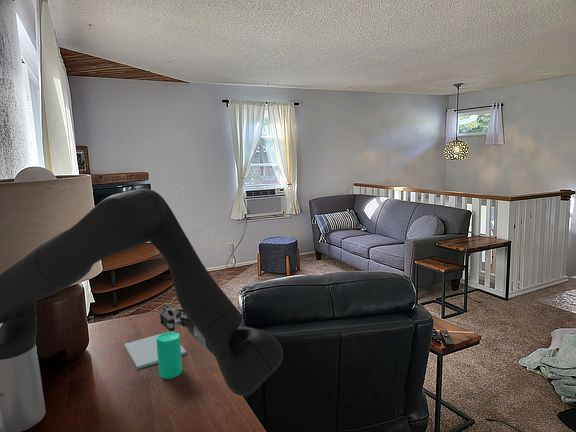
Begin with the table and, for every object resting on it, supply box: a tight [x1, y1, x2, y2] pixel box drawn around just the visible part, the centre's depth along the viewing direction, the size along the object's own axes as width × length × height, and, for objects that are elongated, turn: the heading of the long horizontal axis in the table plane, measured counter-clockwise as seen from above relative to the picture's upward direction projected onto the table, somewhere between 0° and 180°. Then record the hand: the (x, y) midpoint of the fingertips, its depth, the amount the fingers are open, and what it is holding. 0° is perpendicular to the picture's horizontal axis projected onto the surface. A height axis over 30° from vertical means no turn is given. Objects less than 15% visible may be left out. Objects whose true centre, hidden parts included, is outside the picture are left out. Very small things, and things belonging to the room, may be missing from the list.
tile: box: [124, 333, 188, 370], centre depth 116 cm, size 16×14×1 cm
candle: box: [156, 330, 183, 380], centre depth 103 cm, size 6×6×12 cm
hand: (184, 303), depth 91 cm, fingers open, 8 cm apart
